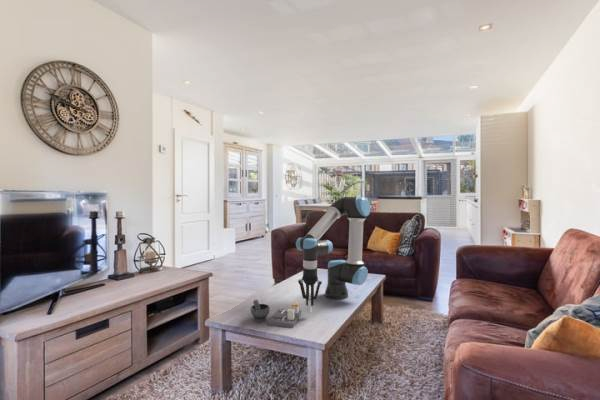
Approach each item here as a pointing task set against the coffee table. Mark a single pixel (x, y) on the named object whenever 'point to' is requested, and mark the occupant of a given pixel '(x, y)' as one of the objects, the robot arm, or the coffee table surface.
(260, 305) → the mortar and pestle
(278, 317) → the console
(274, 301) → the coffee table surface
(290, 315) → the fader
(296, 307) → the fader
